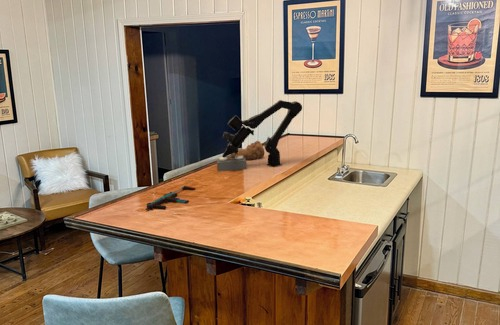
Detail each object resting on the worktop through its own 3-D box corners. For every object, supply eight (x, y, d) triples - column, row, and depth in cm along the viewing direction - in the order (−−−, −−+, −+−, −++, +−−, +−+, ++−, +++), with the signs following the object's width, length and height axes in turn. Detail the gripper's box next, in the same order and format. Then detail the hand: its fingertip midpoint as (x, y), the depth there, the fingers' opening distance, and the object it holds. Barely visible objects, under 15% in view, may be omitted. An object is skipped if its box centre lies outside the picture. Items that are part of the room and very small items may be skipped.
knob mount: (245, 165, 236) (245, 157, 235) (246, 169, 229) (245, 160, 227) (218, 167, 236) (217, 159, 235) (217, 171, 228) (216, 162, 227)
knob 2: (243, 165, 235) (243, 154, 233) (244, 167, 230) (243, 156, 229) (235, 166, 234) (234, 155, 233) (235, 168, 230) (235, 157, 228)
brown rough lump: (256, 167, 245) (270, 155, 254) (252, 152, 240) (266, 140, 249) (232, 164, 256) (246, 151, 266) (228, 149, 251) (242, 137, 261)
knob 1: (228, 167, 234) (227, 156, 233) (228, 169, 230) (227, 157, 228) (219, 167, 234) (219, 156, 233) (219, 169, 230) (218, 158, 228)
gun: (169, 210, 167) (139, 206, 173) (170, 215, 168) (140, 211, 174) (207, 188, 195) (180, 185, 201) (208, 192, 196) (181, 189, 202)
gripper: (230, 124, 236) (212, 144, 238) (230, 129, 218) (211, 151, 220) (244, 136, 238) (226, 156, 240) (246, 142, 220) (227, 164, 222)
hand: (222, 156), depth 230 cm, fingers closed, pressing on knob 1
